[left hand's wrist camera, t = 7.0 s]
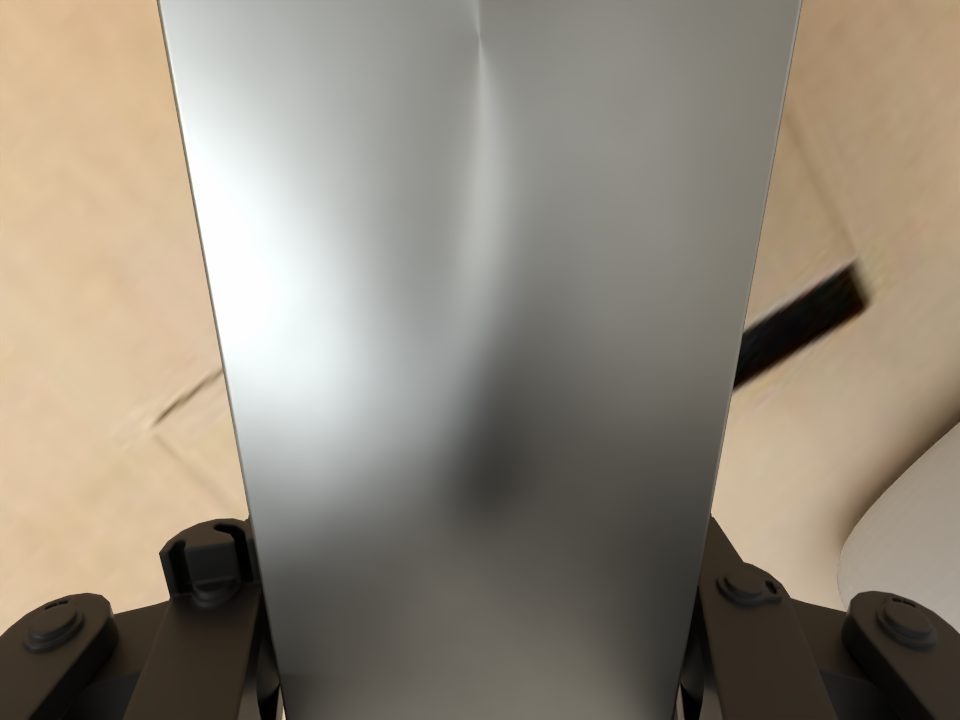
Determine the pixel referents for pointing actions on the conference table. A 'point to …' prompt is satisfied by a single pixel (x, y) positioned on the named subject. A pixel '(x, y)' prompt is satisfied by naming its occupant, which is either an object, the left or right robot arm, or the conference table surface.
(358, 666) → the bar
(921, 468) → the projector
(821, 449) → the conference table surface
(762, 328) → the conference table surface
